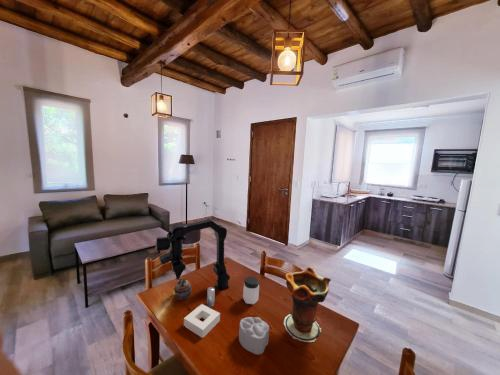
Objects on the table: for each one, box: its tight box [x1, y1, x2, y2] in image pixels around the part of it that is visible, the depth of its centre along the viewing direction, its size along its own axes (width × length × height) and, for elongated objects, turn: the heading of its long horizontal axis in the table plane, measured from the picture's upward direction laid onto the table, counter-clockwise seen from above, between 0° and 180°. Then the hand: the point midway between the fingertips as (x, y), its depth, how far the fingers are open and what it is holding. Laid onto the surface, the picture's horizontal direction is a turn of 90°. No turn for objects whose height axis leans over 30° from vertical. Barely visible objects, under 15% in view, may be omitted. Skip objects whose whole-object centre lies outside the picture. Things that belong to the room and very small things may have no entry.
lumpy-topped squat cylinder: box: [238, 316, 270, 355], centre depth 90 cm, size 10×13×9 cm
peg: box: [206, 286, 216, 308], centre depth 111 cm, size 4×4×9 cm
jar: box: [242, 275, 260, 305], centre depth 117 cm, size 9×8×12 cm
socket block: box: [183, 303, 221, 339], centre depth 98 cm, size 12×12×4 cm
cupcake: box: [173, 278, 193, 302], centre depth 116 cm, size 10×10×10 cm
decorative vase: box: [283, 266, 332, 343], centre depth 99 cm, size 21×23×28 cm
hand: (176, 274), depth 112 cm, fingers open, 9 cm apart
